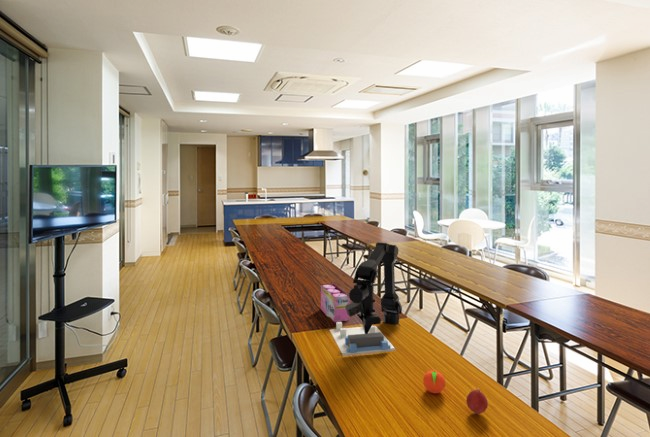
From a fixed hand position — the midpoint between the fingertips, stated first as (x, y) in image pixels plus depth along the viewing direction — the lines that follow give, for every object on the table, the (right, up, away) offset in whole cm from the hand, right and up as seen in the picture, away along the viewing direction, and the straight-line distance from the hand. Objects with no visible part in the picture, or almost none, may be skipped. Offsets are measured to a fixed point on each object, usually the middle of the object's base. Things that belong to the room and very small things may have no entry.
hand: (366, 333), depth 156 cm
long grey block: (0, -5, +1) cm, 6 cm away
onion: (+28, -11, -42) cm, 52 cm away
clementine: (+19, -10, -31) cm, 38 cm away
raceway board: (-2, -6, +8) cm, 10 cm away
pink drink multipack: (-12, -3, +39) cm, 41 cm away
